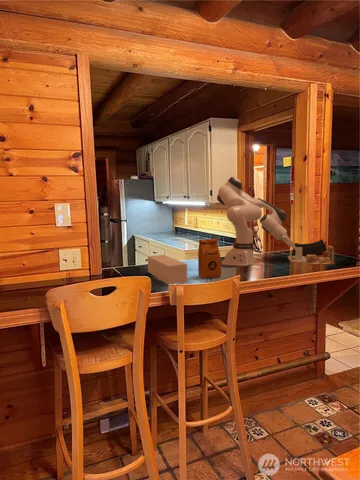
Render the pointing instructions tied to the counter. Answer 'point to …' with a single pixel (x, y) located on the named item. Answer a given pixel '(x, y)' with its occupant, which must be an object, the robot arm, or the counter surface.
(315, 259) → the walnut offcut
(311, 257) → the oak offcut
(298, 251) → the board
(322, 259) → the rack
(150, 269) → the pinkish brown block
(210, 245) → the coffee package
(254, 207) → the robot arm
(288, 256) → the tray
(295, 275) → the counter surface
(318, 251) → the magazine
